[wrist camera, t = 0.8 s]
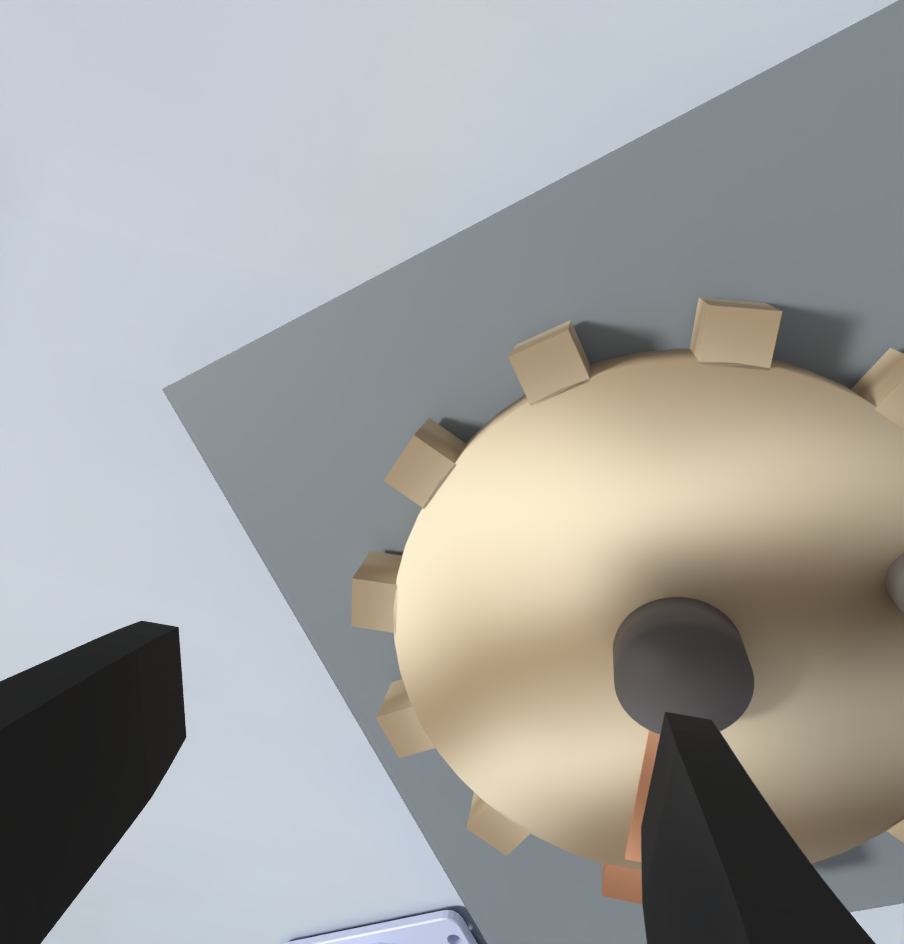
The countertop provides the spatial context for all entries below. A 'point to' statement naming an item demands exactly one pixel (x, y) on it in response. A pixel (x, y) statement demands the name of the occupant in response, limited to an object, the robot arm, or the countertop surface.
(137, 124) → the countertop surface
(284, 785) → the countertop surface
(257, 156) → the countertop surface
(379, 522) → the base board
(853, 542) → the sprocket
